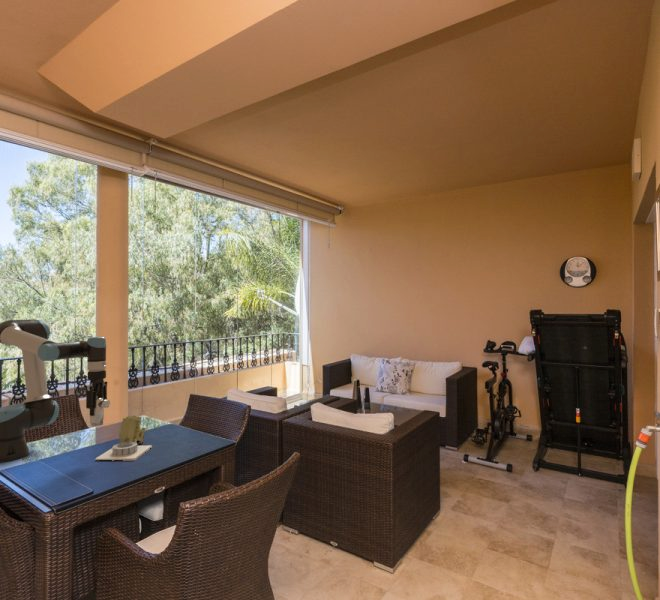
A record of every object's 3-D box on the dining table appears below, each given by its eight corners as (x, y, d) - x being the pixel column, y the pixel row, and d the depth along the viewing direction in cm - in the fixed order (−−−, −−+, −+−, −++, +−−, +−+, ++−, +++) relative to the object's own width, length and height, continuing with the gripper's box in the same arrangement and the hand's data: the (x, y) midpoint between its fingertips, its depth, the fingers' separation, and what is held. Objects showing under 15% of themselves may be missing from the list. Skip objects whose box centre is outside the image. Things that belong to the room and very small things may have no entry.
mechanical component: (145, 455, 214) (153, 415, 222) (127, 451, 198) (136, 409, 206) (130, 454, 214) (139, 415, 223) (111, 451, 199) (122, 409, 207)
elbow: (88, 426, 187) (88, 399, 188) (94, 423, 192) (94, 397, 193) (104, 426, 187) (104, 399, 187) (110, 423, 192) (110, 397, 192)
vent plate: (95, 460, 186) (95, 452, 186) (116, 447, 204) (116, 439, 204) (134, 460, 186) (134, 451, 186) (152, 447, 204) (152, 439, 204)
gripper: (93, 373, 181) (93, 426, 181) (115, 367, 199) (115, 415, 199) (76, 373, 182) (76, 426, 181) (100, 367, 200) (100, 416, 199)
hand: (96, 420), depth 190 cm, fingers closed on elbow, 5 cm apart
